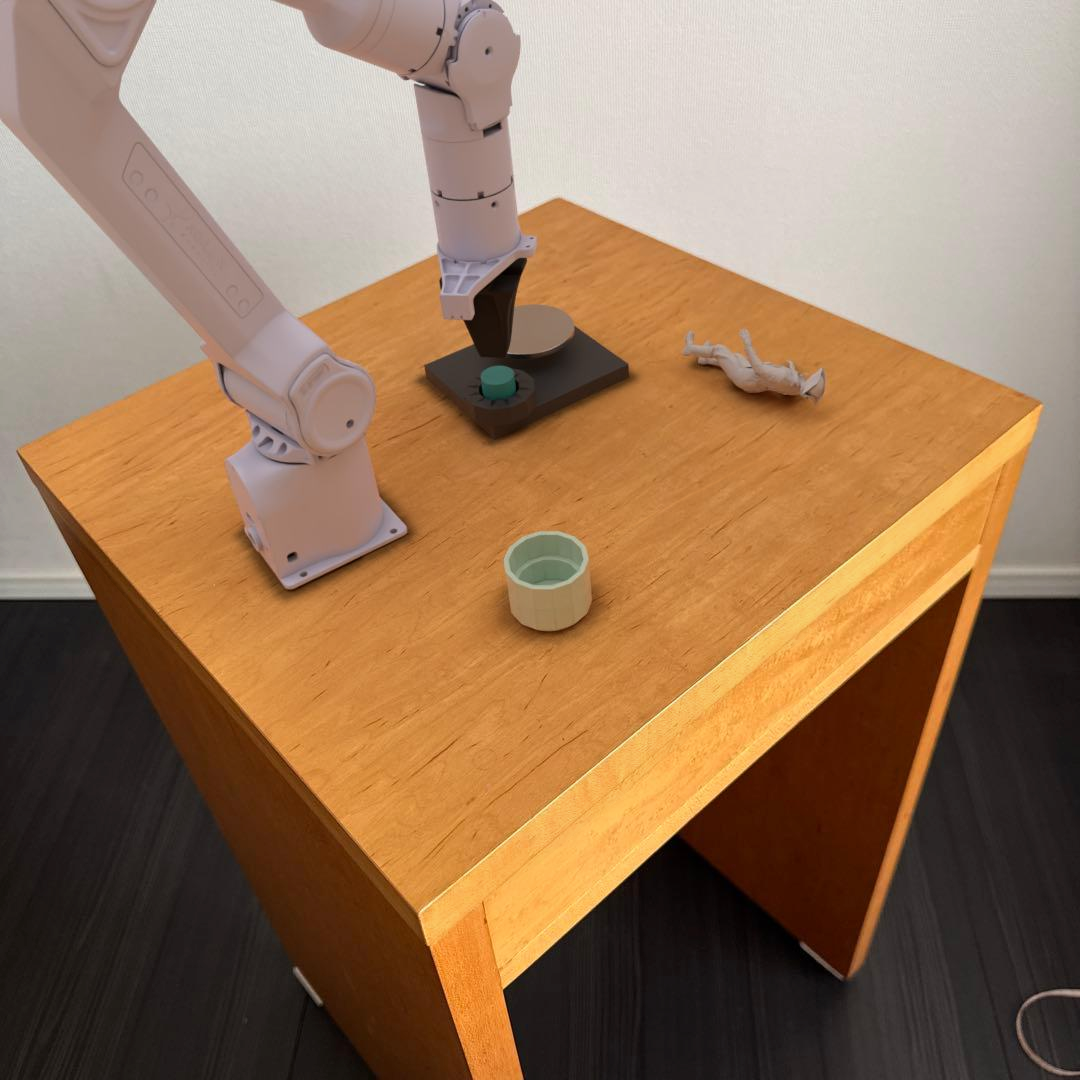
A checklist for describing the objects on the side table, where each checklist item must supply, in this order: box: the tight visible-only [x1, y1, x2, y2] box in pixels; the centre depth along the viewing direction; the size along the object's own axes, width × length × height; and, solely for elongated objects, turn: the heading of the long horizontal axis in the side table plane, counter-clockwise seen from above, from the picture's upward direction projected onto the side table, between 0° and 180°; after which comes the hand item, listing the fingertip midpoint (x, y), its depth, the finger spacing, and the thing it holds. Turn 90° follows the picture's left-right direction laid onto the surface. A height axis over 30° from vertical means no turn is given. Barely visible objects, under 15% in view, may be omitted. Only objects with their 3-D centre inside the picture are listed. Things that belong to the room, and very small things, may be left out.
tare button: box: [481, 366, 516, 400], centre depth 87 cm, size 3×3×2 cm
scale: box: [424, 325, 630, 440], centre depth 92 cm, size 14×12×3 cm
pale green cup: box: [502, 530, 593, 632], centre depth 72 cm, size 5×5×4 cm
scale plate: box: [506, 303, 575, 359], centre depth 92 cm, size 8×8×1 cm
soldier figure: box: [681, 328, 827, 406], centre depth 88 cm, size 8×5×12 cm
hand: (494, 352), depth 85 cm, fingers closed
